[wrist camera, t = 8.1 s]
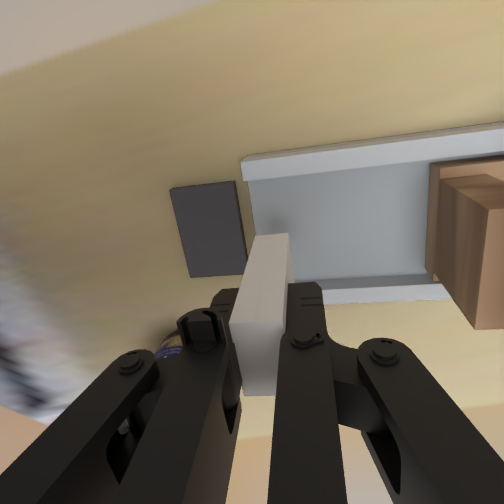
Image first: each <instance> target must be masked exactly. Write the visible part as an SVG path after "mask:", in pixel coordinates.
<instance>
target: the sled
mask: <svg viewBox="0 0 504 504" xmlns="http://www.w3.org/2000/svg"><path fill="white" fill-rule="evenodd" d="M425 269H426V271H427V272H428V274H429V275H430V277H431V278H432V280H433V281H440V282H441V283H442V285H443V286H444V288H445V289H446V290H447V292H448V293H449V295H450V296H451V297H452V299H453V300H454V302H455V303H456V305H457V306H458V307H459V309H460V310H461V312H462V313H463V314H464V316H465V317H466V319H467V320H468V321H469V323H470V324H471V326H472V327H473V328H474V330H488V329H504V154H502V155H494V156H485V157H476V158H468V159H459V160H450V161H442V162H433V163H430V177H429V197H428V217H427V237H426V257H425Z"/></svg>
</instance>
